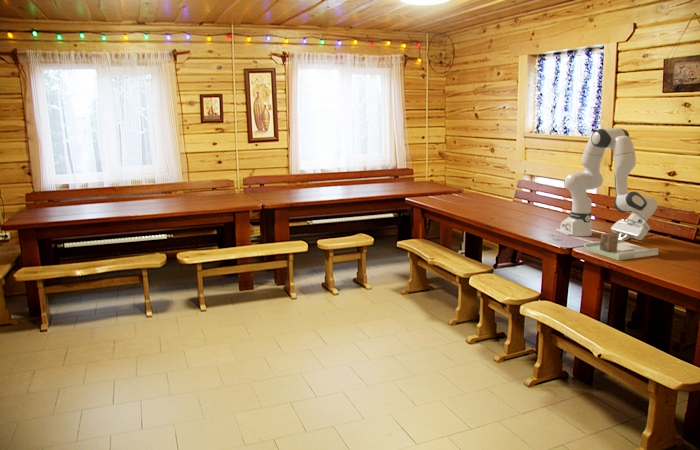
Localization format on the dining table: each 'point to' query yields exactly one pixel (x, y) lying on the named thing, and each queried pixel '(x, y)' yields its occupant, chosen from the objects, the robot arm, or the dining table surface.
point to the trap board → (622, 250)
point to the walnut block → (608, 242)
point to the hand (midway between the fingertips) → (619, 240)
